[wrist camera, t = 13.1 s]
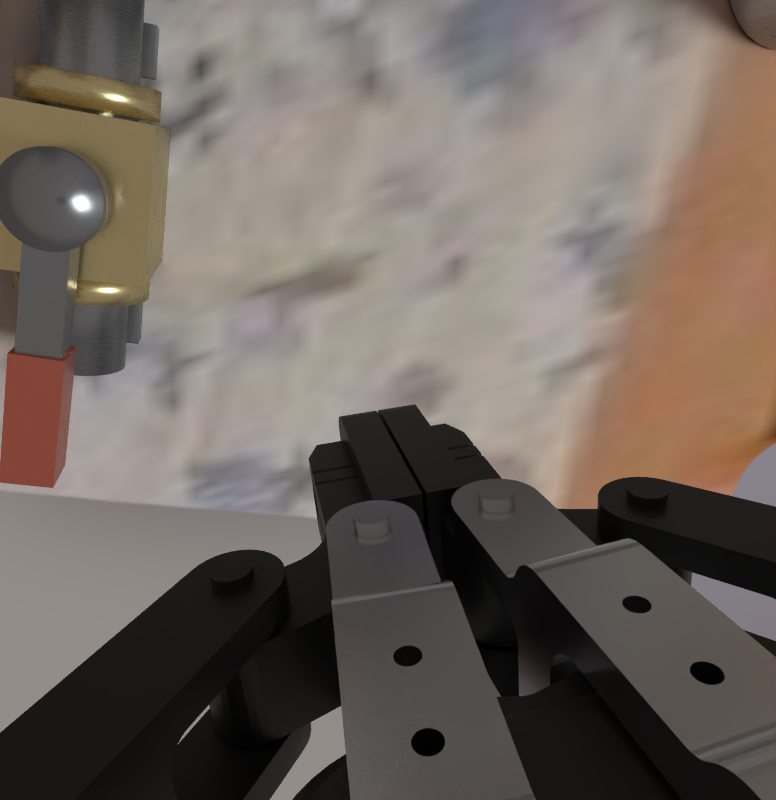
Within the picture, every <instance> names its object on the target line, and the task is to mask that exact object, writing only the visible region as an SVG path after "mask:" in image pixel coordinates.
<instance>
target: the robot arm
mask: <svg viewBox="0 0 776 800" xmlns="http://www.w3.org/2000/svg"><path fill="white" fill-rule="evenodd" d="M730 1H731V6H732V9H733V11H734V14H735V16H736V18H737V21H738V23H739V24H740V26H741V27H742V28H743V30H744V31H745V33H746V34H747V35H748V36H749V37H750V38H752V39H753V40H754V41H755V42H756V43H758V44H760V45H762V46H764V47H767V48H769V49H773V50H776V0H730ZM339 430H340V438H341V441H339V442H333V443H327V444H321V445H317V446H316V448H315V449H314V451H313V452H312V454H311V456H310V457H309V463H310V470H311V477H312V484H313V491H314V498H315V506H316V513H317V520H318V526H319V531H320V535H321V540H322V543H321V544H320V546H319V547H318V548H317V549H316V550H315V551H313V552H312V553H311V554H309V555H308V556H306V557H304V558H303V559H301V560H299V561H297V562H294V563H292V564H290V565H287V566H285V567H284V565H283V563H282V561H281V560H280V559H279V558H278V557H276V556H275V555H272V554H270V553H268V552H265V551H259V550H238V551H232V552H228V553H224V554H221V555H218V556H215V557H213V558H211V559H209V560H206V561H205V562H203V563H201V564H200V565H198V566H197V567H196V568H194V569H193V570H192V571H191V572H189V573H188V574H187V575H186V576H185V577H184V578H182V579H181V580H180V581H179V582H178V583H176V584H175V585H174V586H173V587H172V588H171V589H169V590H168V591H167V592H166V593H165V594H163V595H162V596H161V597H160V598H159V599H158V600H156V601H155V602H154V603H153V604H152V605H150V606H149V607H148V608H147V609H146V610H145V611H143V612H142V613H141V614H140V615H139V616H137V618H135V619H134V620H133V621H132V622H130V623H129V624H128V625H127V626H126V627H125V628H123V629H122V630H121V631H120V632H119V633H118V634H116V635H115V636H114V637H113V638H112V639H110V640H109V641H108V642H107V643H106V644H104V645H103V646H102V647H101V648H100V649H99V650H97V651H96V652H95V653H94V654H93V655H91V656H90V657H89V658H88V659H87V660H86V661H84V662H83V663H82V664H81V665H80V666H78V667H77V668H76V669H75V670H74V671H73V672H71V673H70V674H69V675H68V676H67V677H65V679H63V680H62V681H61V682H60V683H58V684H57V685H56V686H55V687H54V688H53V689H51V690H50V691H49V692H48V693H47V694H45V695H44V696H43V697H42V698H41V699H40V700H38V701H37V702H36V703H35V704H34V705H32V707H30V708H29V709H28V710H27V711H25V712H24V713H23V714H22V715H21V716H19V717H18V718H17V719H16V720H15V721H14V722H12V723H11V724H10V725H9V726H8V727H6V728H5V729H4V730H3V731H2V732H1V733H0V800H270V798H271V797H272V795H273V794H274V793H275V791H276V790H277V788H278V787H279V785H280V784H281V782H282V781H283V779H284V778H285V776H286V775H287V773H288V772H289V770H290V769H291V768H292V766H293V765H294V763H295V762H296V760H297V759H298V757H299V756H300V754H301V753H302V751H303V750H304V748H305V747H306V745H307V743H308V740H309V738H310V733H311V722H312V721H314V720H315V719H317V718H319V717H321V716H323V715H325V714H327V713H328V712H330V711H332V710H334V709H336V708H338V707H340V706H341V707H342V716H343V728H344V738H345V748H346V754H345V755H344V756H342V757H341V758H339V759H338V760H336V761H335V762H333V763H331V764H330V765H328V766H327V767H326V768H325V769H324V770H322V771H321V772H320V773H319V774H317V775H316V776H315V777H314V778H313V779H311V780H310V781H309V783H307V784H306V786H305V787H303V789H301V791H300V792H299V793H298V794H297V795H296V796H295V797H294V798H293V800H776V641H773V640H771V639H768V638H765V637H762V636H759V635H756V634H753V633H751V632H748V631H745V630H743V629H741V628H740V627H739V626H738V625H737V624H736V623H734V622H733V621H732V620H731V619H729V618H728V617H727V616H726V615H725V614H724V613H722V612H721V611H720V610H719V609H718V608H716V607H715V606H714V605H713V604H712V603H710V602H709V601H708V600H707V599H706V598H705V597H703V596H702V595H701V594H700V593H699V592H697V591H696V590H695V589H694V588H693V587H691V579H692V578H691V577H692V572H693V573H696V574H700V575H703V576H706V577H709V578H712V579H715V580H719V581H722V582H725V583H728V584H731V585H734V586H738V587H741V588H744V589H747V590H750V591H754V592H757V593H760V594H763V595H767V596H770V597H772V598H774V599H776V507H774V506H770V505H766V504H762V503H758V502H753V501H749V500H745V499H741V498H737V497H733V496H729V495H724V494H720V493H716V492H712V491H708V490H704V489H699V488H695V487H691V486H687V485H683V484H679V483H674V482H670V481H666V480H661V479H656V478H649V477H629V478H622V479H618V480H615V481H612V482H610V483H608V484H606V485H605V486H603V487H602V488H601V489H600V491H599V494H598V509H557V508H556V507H554V506H553V505H552V504H551V503H550V502H549V501H548V500H547V499H546V498H545V497H544V496H543V495H542V494H540V493H539V492H538V491H537V490H536V489H535V488H533V487H531V486H530V485H528V484H525V483H522V482H519V481H515V480H509V479H502V478H501V477H500V476H499V475H498V473H497V472H496V471H495V470H494V469H493V467H492V466H491V465H490V464H489V462H488V461H487V460H486V459H485V458H484V456H481V453H480V451H479V450H478V449H477V448H476V447H475V446H473V443H472V442H471V440H470V439H469V438H468V437H467V436H466V434H465V433H464V432H462V431H460V430H458V429H456V428H454V427H451V426H449V425H447V424H440V425H434V426H430V424H429V423H428V422H427V420H426V419H425V417H424V416H423V415H422V413H421V412H420V410H419V409H418V408H417V406H416V405H408V406H402V407H396V408H389V409H383V410H378V413H377V411H372V412H365V413H359V414H353V415H347V416H341V417H339ZM208 705H209V706H210V709H209V710H208V711H207V712H206V713H205V714H204V716H203V717H202V718H201V719H200V720H199V722H197V723H196V725H195V726H194V727H193V728H192V729H191V730H190V731H189V733H188V734H187V735H186V736H185V737H184V738H183V739H182V741H181V742H180V743H179V744H178V742H179V740H180V739H181V737H182V735H183V734H184V732H185V731H186V730H187V729H188V727H189V726H190V725H191V724H192V723H193V722H194V721H195V720H196V718H197V717H198V716H199V715H200V714H201V713H202V712H203V711H204V709H205V708H206V707H207V706H208ZM177 744H178V745H177Z"/></svg>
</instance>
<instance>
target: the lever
mask: <svg viewBox="0 0 776 800" xmlns="http://www.w3.org/2000/svg"><path fill="white" fill-rule="evenodd" d="M112 208H113V196H112V191H111V187H110V184H109V182H108V180H107V178H106V176H105V174H104V173H103V171H102V170H101V169H100V168H99V167H98V165H97V164H96V163H94V162H93V161H92V160H91V159H90V158H88V157H87V156H85V155H84V154H82V153H80V152H78V151H76V150H73V149H70V148H65V147H57V146H36V147H29V148H24V149H22V150H19V151H17V152H15V153H13V154H12V155H10V156H9V157H8V158H7V159H6V160H5V161H4V162H3V163H2V164H1V166H0V220H1V222H2V223H3V225H4V226H5V227H6V229H7V230H8V231H9V232H10V233H11V234H12V235H13V236H15V237H16V238H17V239H18V240H20V241H21V242H22V249H21V263H20V278H19V292H18V307H17V321H16V335H15V347H14V348H13V349H12V350H11V351H10V352H8V355H7V370H6V385H5V400H4V416H3V431H2V446H1V461H0V482H1V483H10V484H20V485H30V486H40V487H50V488H53V487H54V485H55V483H56V481H57V480H58V478H59V476H60V474H61V472H62V470H63V468H64V466H65V460H66V450H67V440H68V429H69V419H70V409H71V398H72V388H73V378H74V367H75V357H76V347H75V346H71V340H72V330H73V319H74V308H75V298H76V287H77V276H78V266H79V255H80V246H82V245H83V244H85V243H86V242H88V241H89V240H91V239H93V238H94V237H95V236H97V235H98V234H99V233H100V232H101V231H102V230H103V229H104V228H105V226H106V225H107V223H108V221H109V219H110V217H111V214H112Z"/></svg>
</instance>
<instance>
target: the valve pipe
mask: <svg viewBox="0 0 776 800" xmlns="http://www.w3.org/2000/svg"><path fill="white" fill-rule="evenodd" d="M144 3H145V0H39V46H38V64H32V63H25V62H13V96H17V97H21V98H26V99H31V100H36V101H38V104H37V103H31V102H26V101H20V100H15V99H9V98H4V97H0V166H1V164H2V163H3V162H4V161H5V160H6V159H7V158H8V157H9V156H10V155H12V154H13V153H15V152H17V151H19V150H22V149H24V148H29V147H36V146H57V147H65V148H70V149H73V150H76V151H78V152H80V153H82V154H84V155H85V156H87V157H88V158H90V159H91V160H92V161H93V162H94V163H96V164H97V165H98V167H99V168H100V169H101V170H102V171H103V173H104V174H105V176H106V178H107V180H108V182H109V184H110V187H111V191H112V196H113V208H112V214H111V217H110V219H109V221H108V223H107V225H106V226H105V228H104V229H103V230H102V231H101V232H100V233H99V234H98V235H97V236H95V237H94V238H93V239H91V240H89V241H88V242H86V243H85V244H83V245H82V246H80V255H79V266H78V276H77V287H76V298H75V308H74V319H73V330H72V340H71V346H75V347H76V357H75V367H74V375H78V376H97V375H106V374H112V373H115V372H118V371H120V370H122V369H123V368H124V367H125V359H126V343H135V344H138V343H139V341H140V338H141V322H142V306H143V302H145V301H147V300H148V299H149V287H150V279H151V278H152V276H153V274H154V273H155V271H156V269H157V268H158V266H159V265H160V263H161V261H162V254H163V239H164V224H165V209H166V194H167V180H168V165H169V150H170V135H171V130H170V129H166V128H163V127H159V126H156V125H151V124H145V123H140V122H138V120H143V121H149V122H155V123H160V111H161V95H162V92H160V91H158V90H154V89H151V88H148V87H144V86H140V78H141V77H144V78H149V79H154V80H156V72H157V55H158V38H159V28H158V27H157V25H152V24H148V23H143V22H144ZM21 249H22V242H21V241H20V240H18V239H17V238H16V237H15V236H13V235H12V234H11V233H10V232H9V231H8V230H7V229H6V227H5V226H4V225H3V223H2V222H1V220H0V269H2V270H10V271H13V287H14V288H15V289H16V290H17V291H19V278H20V263H21Z"/></svg>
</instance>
